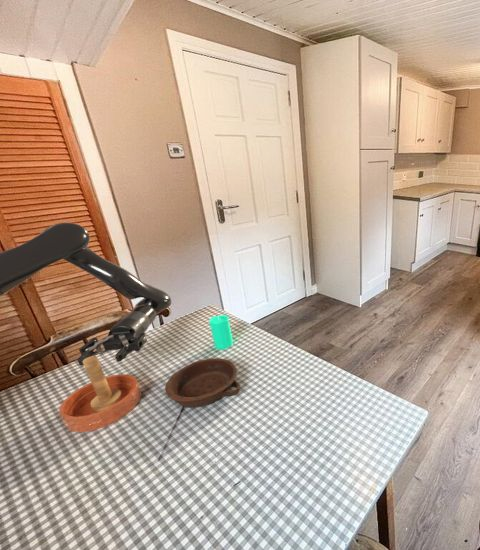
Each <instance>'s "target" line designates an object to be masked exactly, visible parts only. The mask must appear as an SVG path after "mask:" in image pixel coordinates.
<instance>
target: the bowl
mask: <svg viewBox="0 0 480 550" xmlns="http://www.w3.org/2000/svg"><path fill="white" fill-rule="evenodd" d="M105 378H106V380H107V382H108V385H109V387H110V390H112V389H118V390H120V391H121V393H122V396H123V399H122V400H121V401H119V402H118V403H116V404H114V405H113V406H111V407H109V408H107V409H105V410H103V411H100V412H97V413H96V412H94V411H93V409H92V407H91V401H92V400H93V398H95V397H96V396H97V394H96V392H95V390H94V387H93V385H92V383H91V382H88V383H87V384H85V385H83V386H82V387H79V388H78V389H77V390H75V391H74V392H72V393H71V394H70V395H68V396H67V397H66V398H65V399H64V401H63V402H62V403H61V404H60V407H59V409H58V413H59V417H60V418H61V420H62V422H63V424H64V426H65V428H66V429H67V430H69V431H70V432H73V433H85V432H93V431H95V430H98V429H102V428H105V427H107V426H109V425H111V424H114V423H115V422H117V421H119V420H120V419H122V418H124V417H125V416H126V415H128V414H129V413H130V412H131V411H133V410H134V408H136V407H137V405H138V404H139V403H140V401H141V399H142V394H143V393H142V389H141V387H140V385H139V382H138V380H137V377H135V376H133V375H131V374H125V373H120V374H112V375H108V376H105Z"/></svg>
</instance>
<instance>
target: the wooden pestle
mask: <svg viewBox="0 0 480 550" xmlns="http://www.w3.org/2000/svg"><path fill="white" fill-rule="evenodd" d="M83 364H84V366H83V367H84V369H85V371H86V374H87V376H88V378H89V381H90V383H92V385H93V387H94V390H95V392H96V394H97V396H96V397H95V398H93V400H92V401H91V407H92V409H93V411H94V412H96V413H97V412H100V411H103V410H105V409H107V408H109V407H111V406H113V405H114V404H116V403H118V402H119V401H121V400H122V399H123V396H122V393H121V391H120V390H118V389H112V390H110V387H109V385H108V382H107V380H106V378H105V377H106V375H105V373H104V370H103V368H102V365H101V363H100V360H99V358H98V355H96V356H91V357H88V358H86V359H84V360H83Z"/></svg>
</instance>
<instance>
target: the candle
mask: <svg viewBox="0 0 480 550" xmlns="http://www.w3.org/2000/svg"><path fill="white" fill-rule="evenodd" d="M208 322H209V327H210V331H211V336H212V339H213V344H214V347H215V349H216V350H226V349H228V348H230V347H232V346H233V344H234V339H233V334H232V330H231V324H230V319H229V316H228V315H227V314H221V315H214V316H212V317H210V318H209V320H208Z"/></svg>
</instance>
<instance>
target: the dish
mask: <svg viewBox="0 0 480 550" xmlns="http://www.w3.org/2000/svg"><path fill="white" fill-rule="evenodd" d="M237 375H238V369H237V366H236V364H235V363H234V362H233V361H231V360H229V359H226V358H220V357H212V358H205V359H201V360H197V361H194V362H191V363H188V364H187V365H185V366H183V367H182V368H180V369H179V370H177V371H176V372H174V373H173V374H172V375H171V376H170V377H169V379H168V380H167V381H166V384H165V389H164V392H165V394H166V396H167V398H169V399H171V400H173V401H174V402H175V403H176V404H178V405H179V406H181V407H184V408H190V409H193V408H194V409H195V408H200V407H205V406H208V405H211V404H212V403H215V402H216V401H218V400H220V399H222V398H223V397H234V396H236V395H238V394H239V393H240V391H241V384H240V382H239V381H238V380H236V378H237ZM232 388H234V389H232Z"/></svg>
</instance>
